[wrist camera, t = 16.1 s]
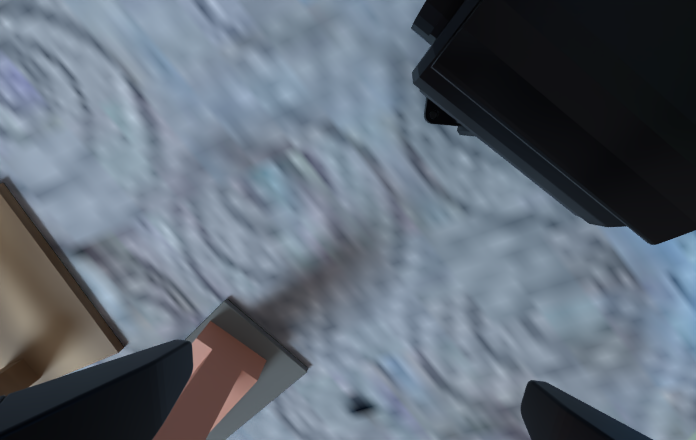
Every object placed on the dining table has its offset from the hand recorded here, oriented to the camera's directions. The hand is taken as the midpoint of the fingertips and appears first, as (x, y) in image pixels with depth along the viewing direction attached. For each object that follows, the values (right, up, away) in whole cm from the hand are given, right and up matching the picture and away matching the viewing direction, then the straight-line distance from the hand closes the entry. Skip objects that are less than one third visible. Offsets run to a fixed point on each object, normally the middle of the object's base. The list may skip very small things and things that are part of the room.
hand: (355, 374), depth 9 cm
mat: (-10, -8, +17) cm, 21 cm away
